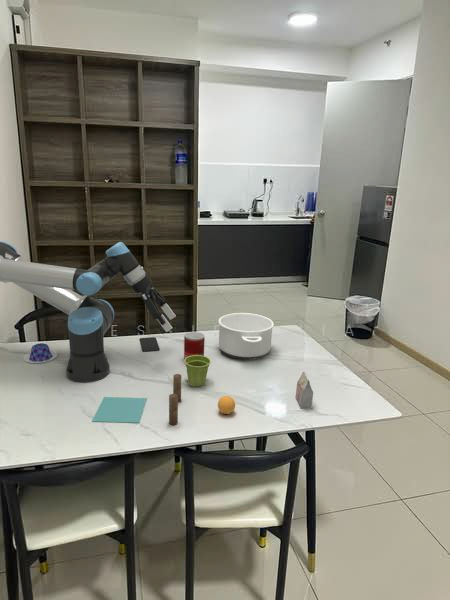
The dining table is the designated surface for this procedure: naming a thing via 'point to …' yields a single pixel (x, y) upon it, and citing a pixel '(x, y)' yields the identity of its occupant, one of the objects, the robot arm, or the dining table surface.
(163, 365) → the dining table surface
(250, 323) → the pot
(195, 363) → the plant pot
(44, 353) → the pudding
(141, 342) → the phone
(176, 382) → the post far
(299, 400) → the white red carton
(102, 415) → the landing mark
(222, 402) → the ball
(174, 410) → the post near
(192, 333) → the canned food
